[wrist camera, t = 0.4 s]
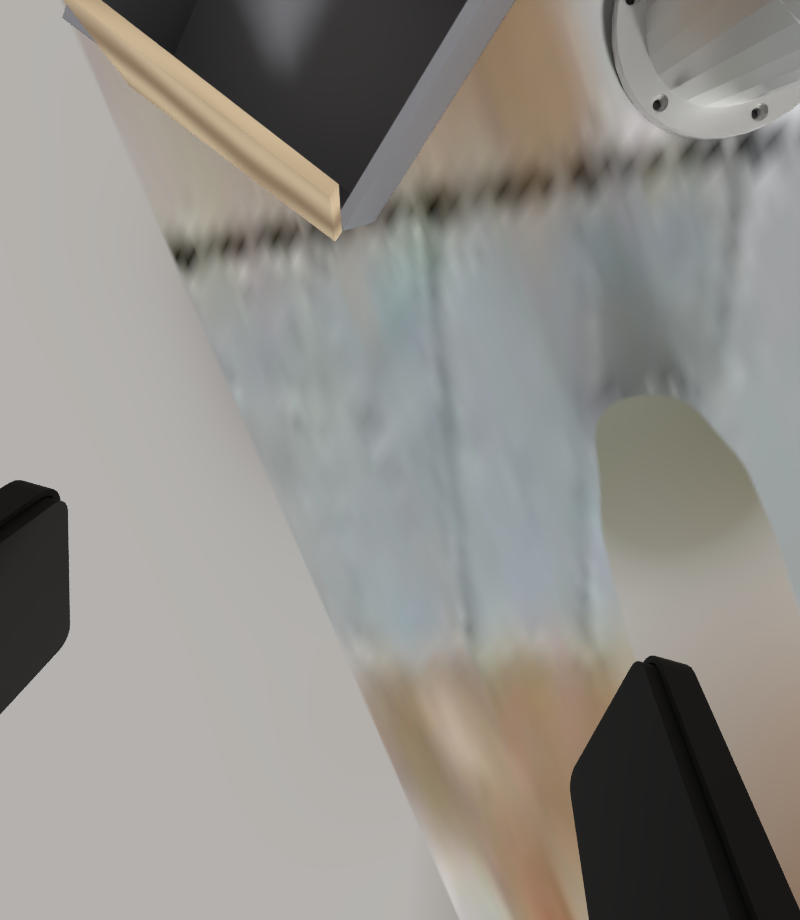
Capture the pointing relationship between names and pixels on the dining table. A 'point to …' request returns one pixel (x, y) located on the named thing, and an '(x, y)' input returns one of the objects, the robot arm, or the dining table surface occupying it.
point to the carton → (330, 74)
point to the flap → (212, 117)
